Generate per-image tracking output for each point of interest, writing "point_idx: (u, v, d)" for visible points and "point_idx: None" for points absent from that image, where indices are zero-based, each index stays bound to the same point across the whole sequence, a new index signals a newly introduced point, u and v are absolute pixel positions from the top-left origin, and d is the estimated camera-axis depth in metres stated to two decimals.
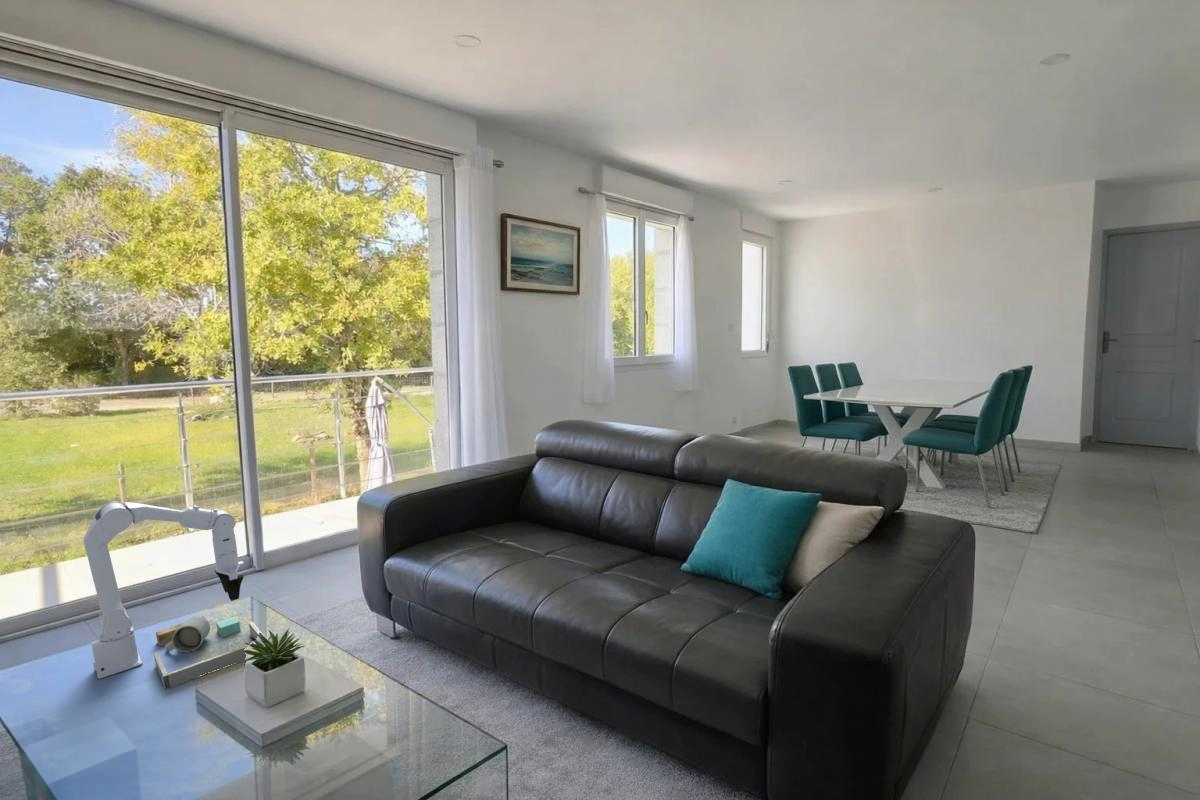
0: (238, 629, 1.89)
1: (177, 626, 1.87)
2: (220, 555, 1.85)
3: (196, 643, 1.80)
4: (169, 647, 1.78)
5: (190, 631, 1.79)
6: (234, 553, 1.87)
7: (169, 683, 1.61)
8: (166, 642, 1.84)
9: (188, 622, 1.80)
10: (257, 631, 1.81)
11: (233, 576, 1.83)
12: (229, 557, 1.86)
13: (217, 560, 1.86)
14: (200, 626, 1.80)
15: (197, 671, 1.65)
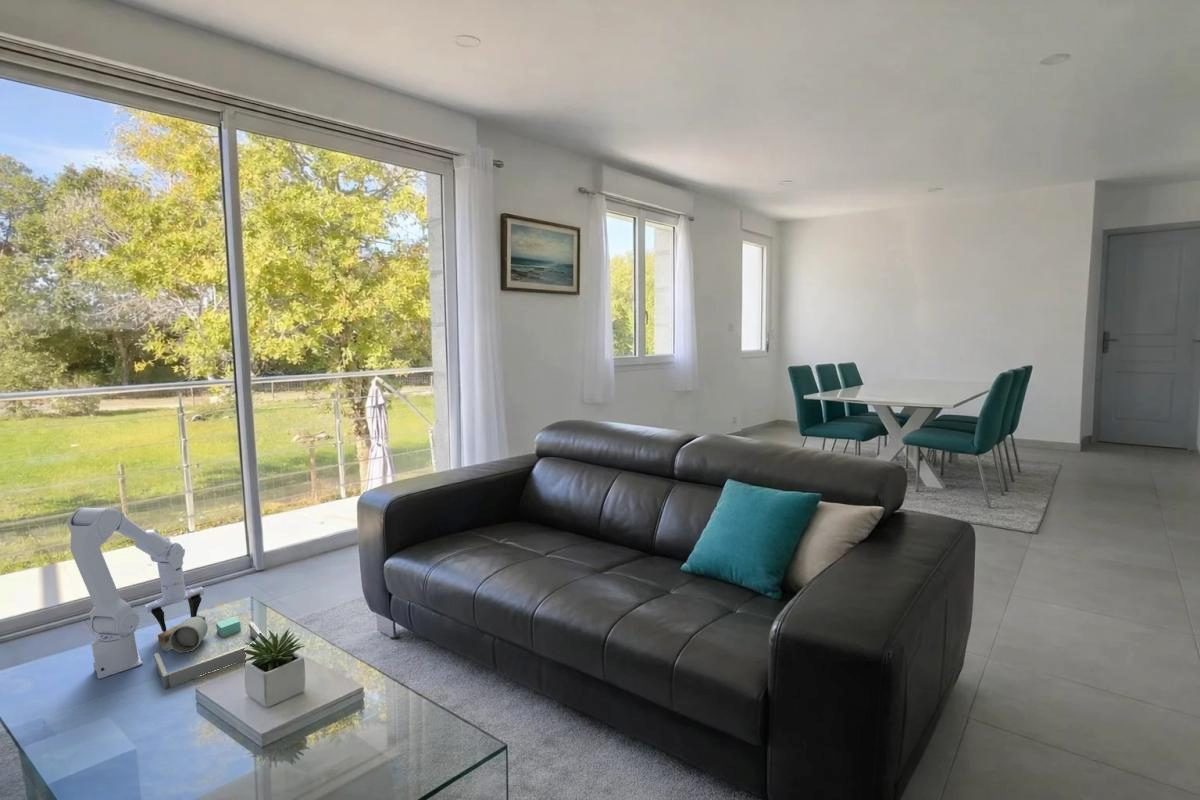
0: (238, 629, 1.89)
1: None
2: None
3: (194, 643, 1.80)
4: (167, 647, 1.78)
5: (188, 631, 1.79)
6: (165, 588, 1.86)
7: (169, 683, 1.61)
8: None
9: (186, 622, 1.80)
10: (257, 631, 1.81)
11: (146, 609, 1.84)
12: (162, 589, 1.87)
13: None
14: (198, 626, 1.80)
15: (197, 671, 1.65)
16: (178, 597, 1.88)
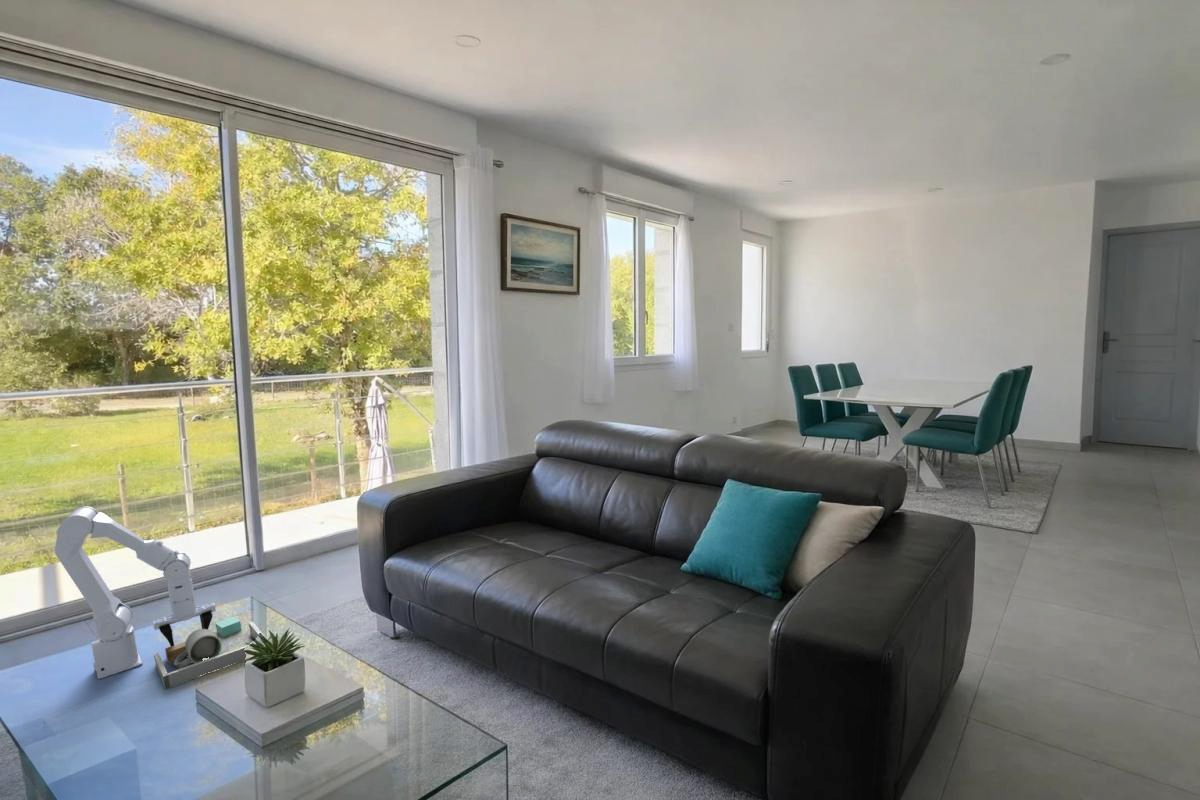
0: (239, 628, 1.89)
1: None
2: None
3: (212, 653, 1.74)
4: (184, 663, 1.69)
5: (206, 641, 1.73)
6: (174, 604, 1.75)
7: (169, 683, 1.61)
8: None
9: (200, 633, 1.73)
10: (257, 631, 1.81)
11: None
12: (171, 605, 1.76)
13: None
14: (215, 635, 1.75)
15: (197, 671, 1.65)
16: (187, 614, 1.76)
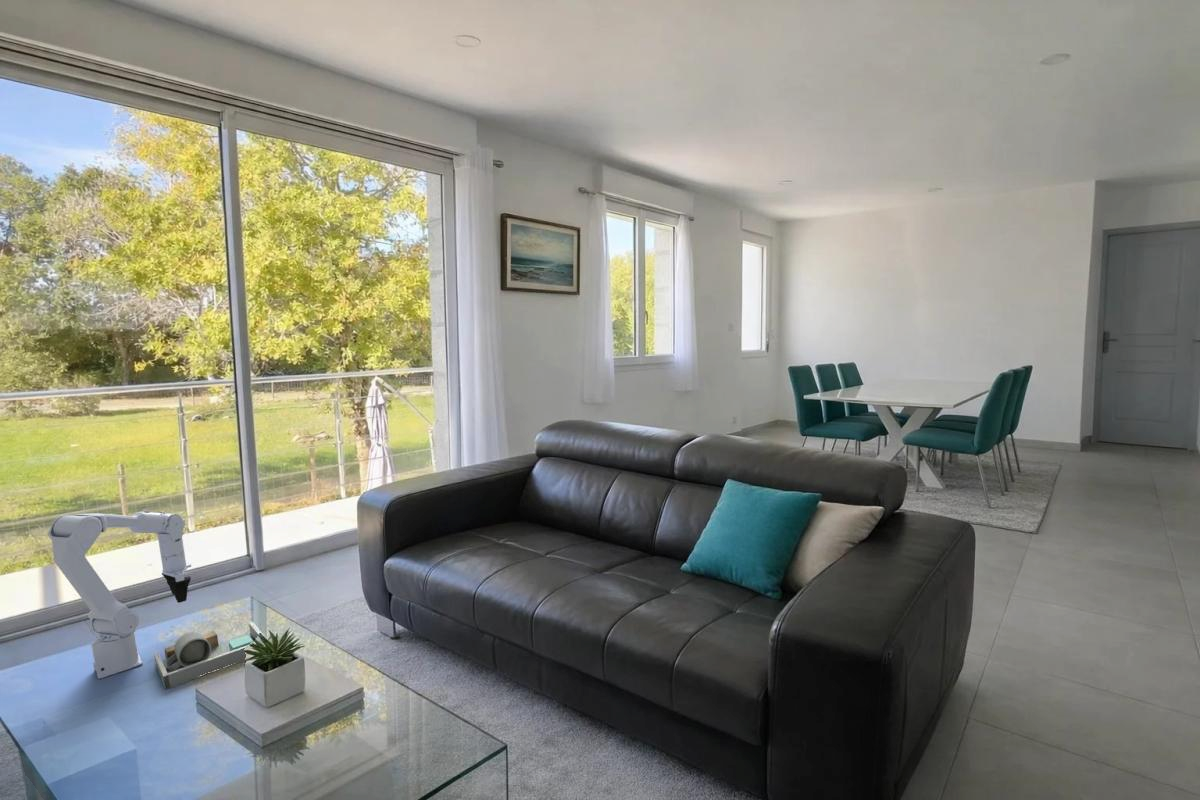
0: None
1: None
2: (166, 557, 1.85)
3: (201, 656, 1.73)
4: (173, 666, 1.68)
5: (195, 645, 1.71)
6: (181, 555, 1.87)
7: (169, 683, 1.61)
8: None
9: (190, 637, 1.72)
10: (257, 631, 1.81)
11: (180, 578, 1.83)
12: (176, 559, 1.86)
13: (163, 562, 1.85)
14: (204, 638, 1.73)
15: (197, 671, 1.65)
16: (185, 563, 1.90)
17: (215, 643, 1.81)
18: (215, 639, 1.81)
